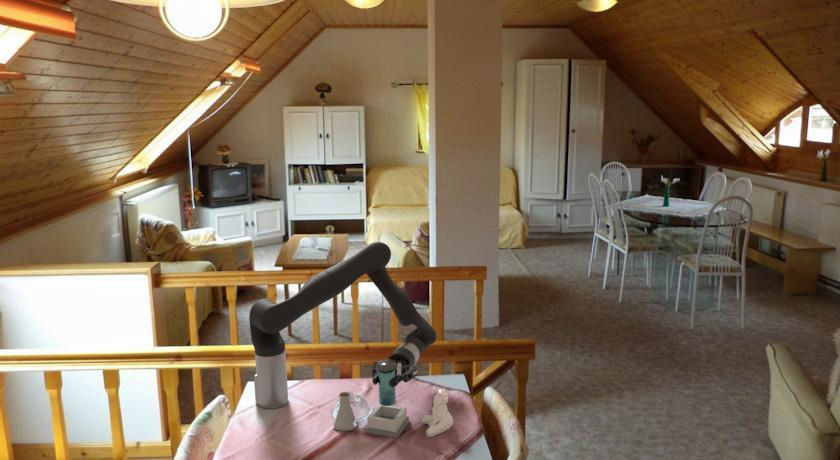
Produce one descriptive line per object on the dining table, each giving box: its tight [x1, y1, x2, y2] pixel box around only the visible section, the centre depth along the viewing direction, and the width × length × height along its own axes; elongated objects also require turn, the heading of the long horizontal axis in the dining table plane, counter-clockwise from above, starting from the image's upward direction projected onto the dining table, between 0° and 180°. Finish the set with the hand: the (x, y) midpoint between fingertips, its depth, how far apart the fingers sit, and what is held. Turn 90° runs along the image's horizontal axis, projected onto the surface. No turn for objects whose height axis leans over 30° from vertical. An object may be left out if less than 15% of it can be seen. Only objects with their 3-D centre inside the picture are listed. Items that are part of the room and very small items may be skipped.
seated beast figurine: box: [421, 387, 454, 438], centre depth 182 cm, size 10×9×12 cm
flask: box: [333, 391, 356, 432], centre depth 184 cm, size 7×7×10 cm
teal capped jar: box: [376, 358, 397, 406], centre depth 181 cm, size 6×6×12 cm
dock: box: [364, 403, 410, 439], centre depth 183 cm, size 10×10×4 cm
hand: (383, 382), depth 178 cm, fingers closed on teal capped jar, 4 cm apart
